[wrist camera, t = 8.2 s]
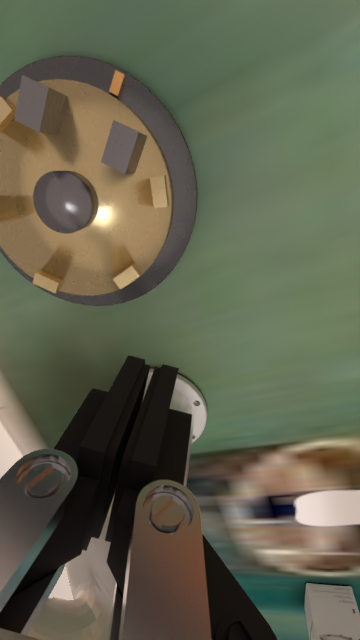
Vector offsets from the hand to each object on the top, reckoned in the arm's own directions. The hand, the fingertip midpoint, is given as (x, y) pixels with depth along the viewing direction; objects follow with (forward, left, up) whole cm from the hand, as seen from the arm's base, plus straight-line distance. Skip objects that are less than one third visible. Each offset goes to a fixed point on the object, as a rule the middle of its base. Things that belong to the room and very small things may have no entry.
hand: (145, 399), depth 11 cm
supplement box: (-56, -28, -25) cm, 68 cm away
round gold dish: (+3, +12, -23) cm, 26 cm away
